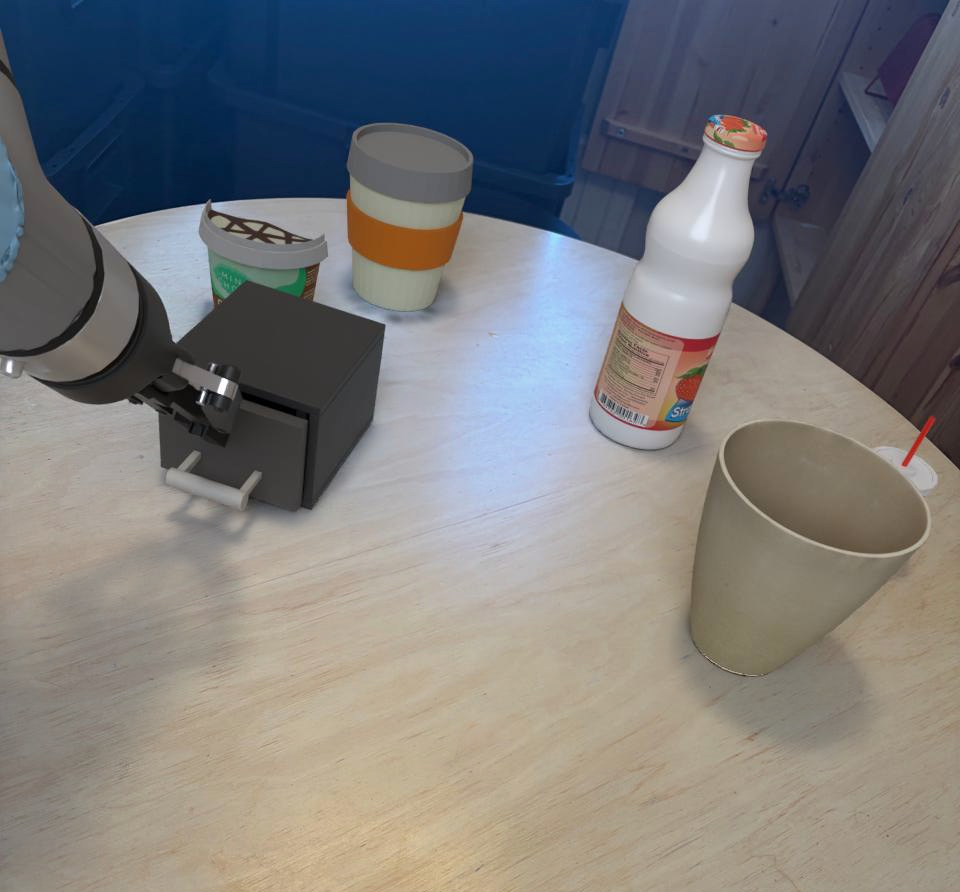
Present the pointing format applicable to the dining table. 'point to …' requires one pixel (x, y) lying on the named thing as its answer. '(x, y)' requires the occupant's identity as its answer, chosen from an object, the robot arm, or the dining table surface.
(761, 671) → the plant pot
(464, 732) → the dining table surface
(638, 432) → the fruit juice
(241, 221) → the food container
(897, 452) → the beverage cup
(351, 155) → the reusable coffee cup
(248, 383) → the cabinet
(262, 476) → the drawer
